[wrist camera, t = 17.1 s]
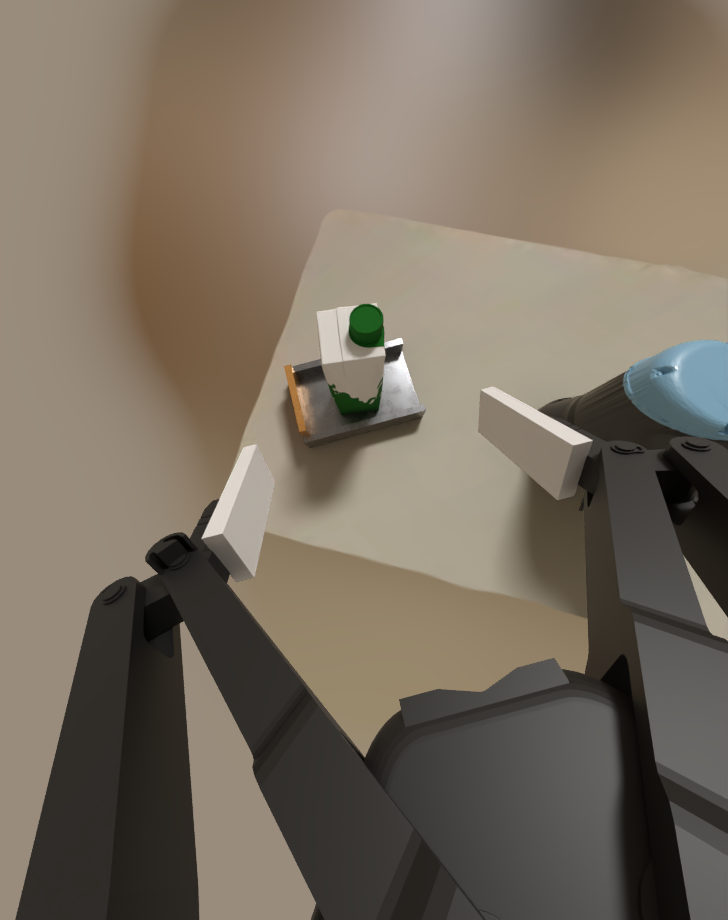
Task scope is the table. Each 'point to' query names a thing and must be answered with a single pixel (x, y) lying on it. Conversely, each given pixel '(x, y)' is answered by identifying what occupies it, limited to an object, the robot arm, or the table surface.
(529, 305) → the table surface
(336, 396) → the soya milk
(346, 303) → the table surface
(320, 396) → the rail channel
